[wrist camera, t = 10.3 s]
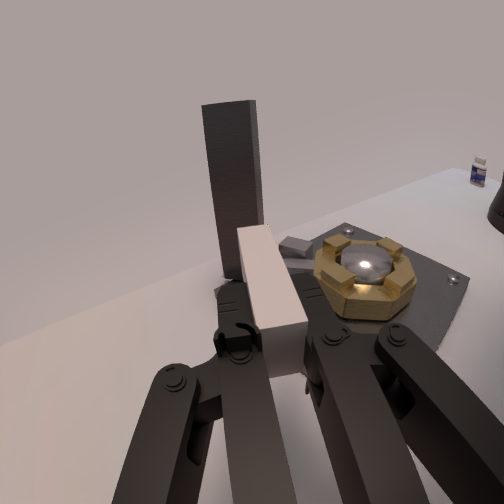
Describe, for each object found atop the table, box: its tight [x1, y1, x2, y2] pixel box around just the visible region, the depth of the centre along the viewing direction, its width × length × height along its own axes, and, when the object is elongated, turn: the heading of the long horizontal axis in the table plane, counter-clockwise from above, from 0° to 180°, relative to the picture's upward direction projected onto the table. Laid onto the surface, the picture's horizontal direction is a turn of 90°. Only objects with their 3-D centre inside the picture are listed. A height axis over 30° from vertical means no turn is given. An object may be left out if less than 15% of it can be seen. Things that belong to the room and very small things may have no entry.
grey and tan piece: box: [202, 100, 417, 320], centre depth 22 cm, size 19×10×17 cm, turn 75°
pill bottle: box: [470, 156, 487, 187], centre depth 57 cm, size 5×5×9 cm
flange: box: [214, 223, 470, 376], centre depth 26 cm, size 22×22×4 cm
